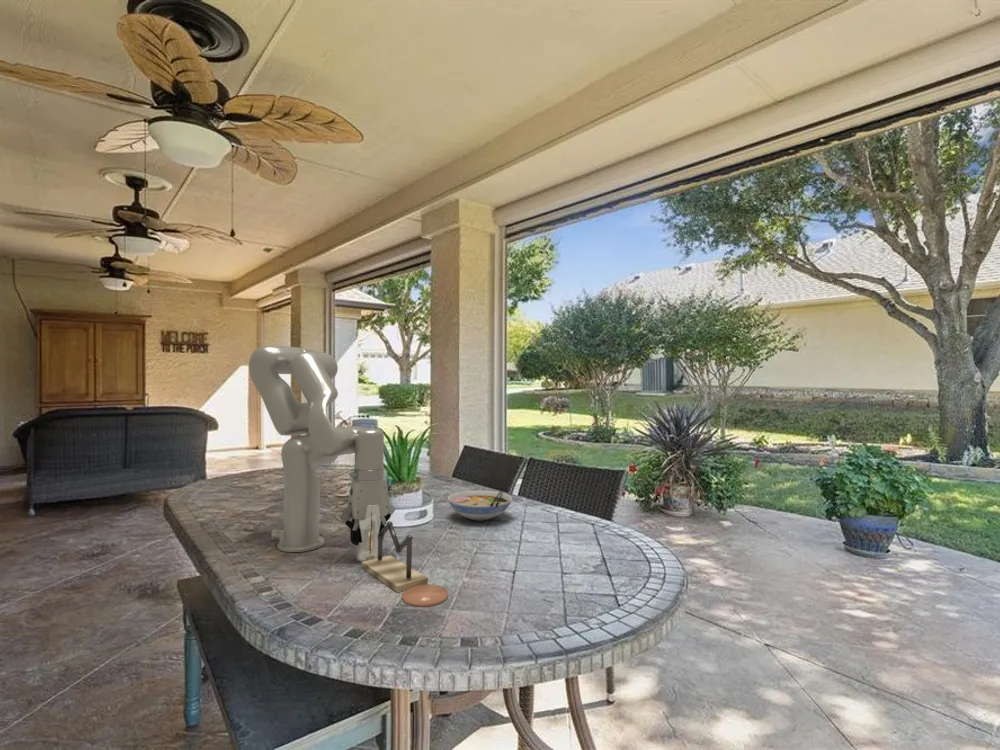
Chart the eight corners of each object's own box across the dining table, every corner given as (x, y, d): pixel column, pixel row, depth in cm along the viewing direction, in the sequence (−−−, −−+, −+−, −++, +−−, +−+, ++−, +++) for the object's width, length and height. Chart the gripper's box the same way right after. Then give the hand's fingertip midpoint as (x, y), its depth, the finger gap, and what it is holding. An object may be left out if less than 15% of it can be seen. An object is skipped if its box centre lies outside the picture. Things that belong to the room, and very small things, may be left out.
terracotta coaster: (396, 605, 107) (396, 602, 107) (409, 586, 116) (409, 583, 116) (442, 607, 106) (442, 605, 106) (451, 588, 116) (451, 585, 116)
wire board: (361, 567, 127) (361, 561, 127) (390, 561, 132) (390, 555, 132) (397, 592, 113) (397, 586, 113) (427, 584, 118) (427, 577, 118)
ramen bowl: (455, 507, 189) (456, 486, 189) (515, 511, 186) (516, 489, 186) (438, 526, 164) (439, 502, 164) (507, 530, 161) (508, 505, 161)
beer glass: (373, 564, 130) (374, 506, 130) (348, 561, 131) (350, 504, 132) (384, 555, 137) (385, 500, 137) (361, 553, 138) (362, 498, 138)
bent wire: (375, 559, 128) (376, 516, 129) (381, 557, 129) (382, 515, 130) (407, 579, 116) (408, 532, 116) (413, 577, 117) (413, 531, 117)
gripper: (343, 480, 126) (341, 552, 126) (404, 473, 137) (403, 539, 137) (332, 476, 132) (330, 544, 132) (391, 469, 143) (390, 532, 143)
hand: (367, 540), depth 134 cm, fingers closed on beer glass, 6 cm apart
